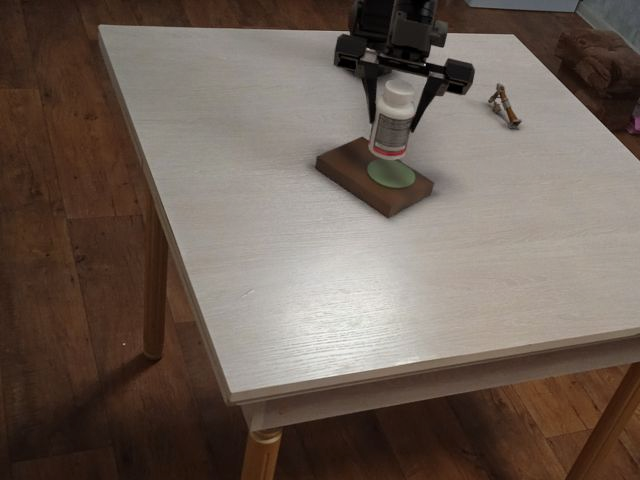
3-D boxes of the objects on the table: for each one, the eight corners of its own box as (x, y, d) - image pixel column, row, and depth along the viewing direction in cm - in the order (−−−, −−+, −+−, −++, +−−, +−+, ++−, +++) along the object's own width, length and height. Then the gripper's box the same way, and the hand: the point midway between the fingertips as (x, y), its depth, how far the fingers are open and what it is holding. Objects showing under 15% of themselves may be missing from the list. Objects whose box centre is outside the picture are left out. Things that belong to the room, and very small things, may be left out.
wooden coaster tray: (360, 147, 125) (362, 134, 123) (431, 193, 120) (435, 181, 118) (314, 168, 118) (316, 155, 117) (388, 217, 114) (391, 204, 112)
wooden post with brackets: (491, 96, 143) (504, 79, 140) (509, 135, 142) (523, 120, 138) (482, 97, 143) (496, 80, 139) (500, 136, 141) (514, 121, 137)
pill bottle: (412, 157, 115) (427, 94, 109) (381, 164, 113) (394, 99, 106) (391, 137, 118) (405, 73, 111) (360, 143, 116) (372, 78, 109)
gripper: (348, -29, 102) (324, 94, 102) (493, 6, 104) (470, 127, 104) (344, 7, 114) (322, 118, 113) (475, 38, 115) (454, 147, 115)
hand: (391, 127), depth 111 cm, fingers closed on pill bottle, 5 cm apart
